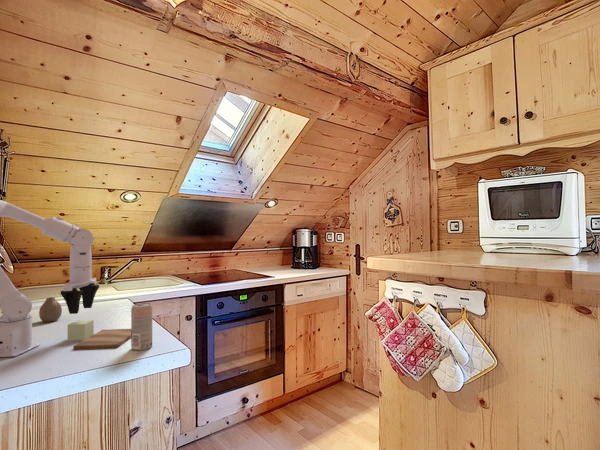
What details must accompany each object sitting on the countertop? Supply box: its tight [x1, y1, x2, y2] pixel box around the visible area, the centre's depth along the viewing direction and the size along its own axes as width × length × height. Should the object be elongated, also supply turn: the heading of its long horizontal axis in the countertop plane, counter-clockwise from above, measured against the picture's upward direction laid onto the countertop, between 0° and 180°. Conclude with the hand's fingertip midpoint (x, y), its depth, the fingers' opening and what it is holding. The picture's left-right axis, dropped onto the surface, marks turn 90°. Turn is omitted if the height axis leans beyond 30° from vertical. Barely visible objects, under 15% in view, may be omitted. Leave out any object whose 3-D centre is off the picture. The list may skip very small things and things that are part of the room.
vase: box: [38, 296, 63, 323], centre depth 127 cm, size 7×7×9 cm
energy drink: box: [130, 302, 153, 352], centre depth 95 cm, size 5×5×12 cm
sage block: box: [67, 319, 95, 342], centre depth 105 cm, size 5×5×5 cm
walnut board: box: [72, 328, 131, 350], centre depth 103 cm, size 16×12×1 cm
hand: (81, 310), depth 105 cm, fingers open, 7 cm apart
